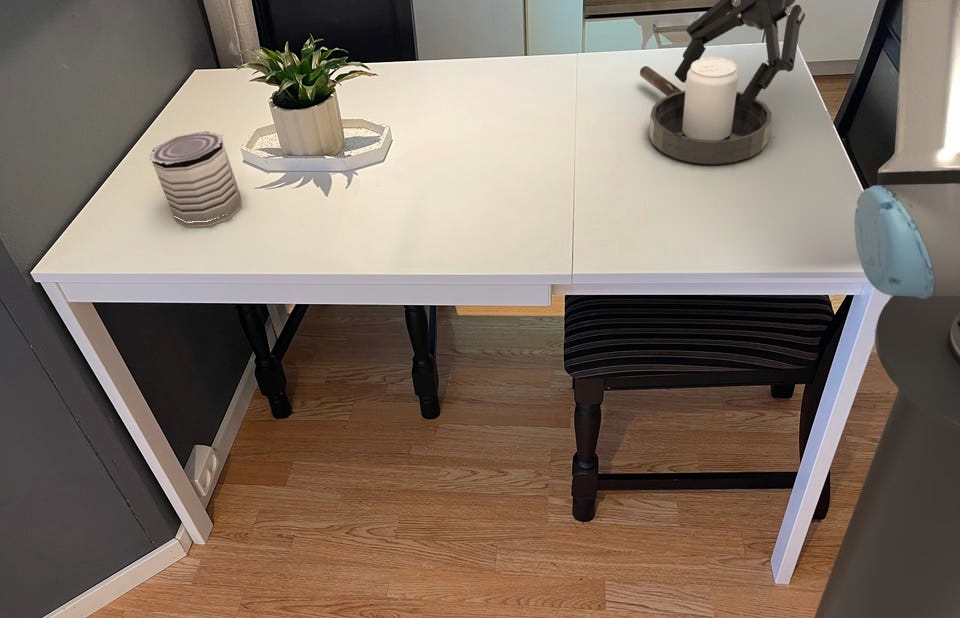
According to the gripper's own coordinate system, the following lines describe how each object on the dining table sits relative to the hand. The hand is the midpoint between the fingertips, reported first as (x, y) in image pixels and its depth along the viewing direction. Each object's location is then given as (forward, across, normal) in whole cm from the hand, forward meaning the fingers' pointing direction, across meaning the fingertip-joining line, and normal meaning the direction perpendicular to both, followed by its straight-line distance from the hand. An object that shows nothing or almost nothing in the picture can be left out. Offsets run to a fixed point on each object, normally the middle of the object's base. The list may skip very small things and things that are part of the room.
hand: (710, 91), depth 129 cm
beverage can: (+5, +1, -6) cm, 8 cm away
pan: (+6, 0, -7) cm, 9 cm away
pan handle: (+1, +16, -8) cm, 18 cm away
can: (+59, +40, +46) cm, 85 cm away
